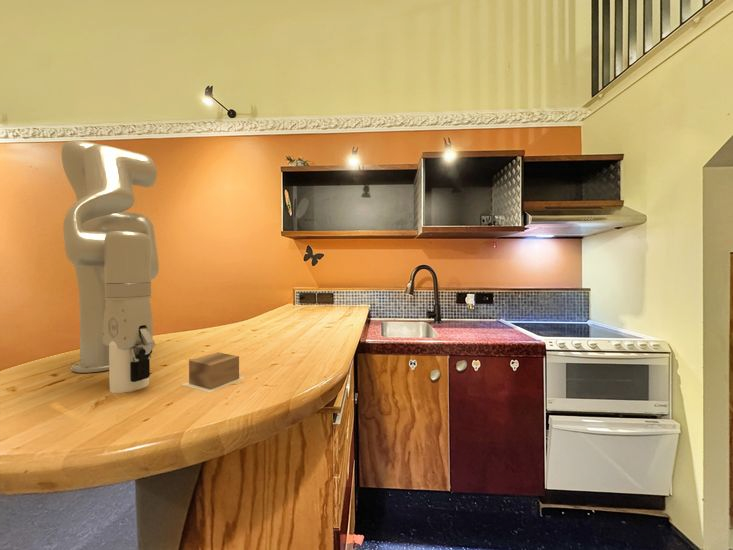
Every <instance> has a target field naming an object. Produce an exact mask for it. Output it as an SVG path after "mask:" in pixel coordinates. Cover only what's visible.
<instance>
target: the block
mask: <svg viewBox="0 0 733 550" xmlns="http://www.w3.org/2000/svg"><path fill="white" fill-rule="evenodd" d="M239 376H240V356H238V355H234V354H230V353H223V352H215V353H211V354H208V355H203V356H200V357H196V358H193V359H189V360H188V382H189V384H192V385H196V386H199V387H203V388H207V389H210V390H211V389H214V388H216V387H219V386H221V385H224V384H226V383H229V382H231V381H234V380H236V379H239Z"/></svg>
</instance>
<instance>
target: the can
mask: <svg viewBox="0 0 733 550" xmlns="http://www.w3.org/2000/svg"><path fill="white" fill-rule="evenodd" d="M113 338H114V337H113ZM141 344H143V342H137V343H135V345H134V346H136V345H141ZM142 349H143V348H142ZM140 350H141V349H137V354H138V353H139V351H140ZM130 362H133V359H132V356H131V352H130V348H129V349H128V350H122V349H119V348H117V344H116V343H115V342H114V341H111V342H110V344H109V370H108V371H109V372H108V373H109V374H108V375H109V378H108V379H109V392H110V393H113V394H123V393H129V392H134V391H138V390H141V389H143V388H145V387H147V386H149V385H150V377H149V378H146V379H143V380H139V381H136V382H131V374H130Z"/></svg>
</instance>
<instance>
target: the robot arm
mask: <svg viewBox="0 0 733 550" xmlns="http://www.w3.org/2000/svg"><path fill="white" fill-rule="evenodd" d="M60 153H61V162H62V167H63V171H64V173H65V176H66V178H67V181H68V182H69V184H70V186H71V188H72V190H73V191H74V194H75V196H76V197H75V198H76V202H75V203H74V204H72V206H71V207H70V208H69V209H68V210H67V212H66V214H65V216H64V219H63V226H62V227H63V241H64V242H63V243H64V251H65V255H66V258H67V260H68V261H69V262H70V263H71V264H72V265H74V267H73V268H74V271H75V275H76V280H77V286H78V287H77V288H78V299H79V300H78V301H79V302H78V304H79V305H78V307H79V346H80V347H79V361H78V362H74V363H73V364H72V365H71V371H72V372H74V373H79V374H80V373H81V374H83V373H85V374H87V373H98V372H105V371H109V344H110V342H111V341H114V342H115V343H116V344H117V348H119V349H122V350H128V349H129V348H130V352H131V356H132V359H133V362H130V374H131V382H136V381H139V380H143V379H146V378H149V379H150V376H151V375H150V374H151V373H150V369H151V368H150V367H151V365H150V364H151V363H150V362H151V361H150V359H151V358H152V353H153V349H154V348H155V345H156V342H155V340H154V339H153V336H154V335H153V334H154V332H153V331H154V330H153V329H154V328H153V327H154V326H153V325H154V324H153V315H152V314H153V313H152V304H151V298H152V280H153V279H155V278H156V277H157V276H158V273H159V269H160V268H159V264H160V263H159V262H160V261H159V255H158V248H157V243H156V242H157V241H156V235H155V230H154V225H153V222H152V221H151V219H150V218H149V217H148V216H147V215H144V214H142V213H135V212H131V211H130V212H129V211H127V210H129V209H131V208H132V207H133V206H134V204H135V196H134V189H133V186H137V187H144V188H151V187H154V185H155V184H156V182H157V177H158V176H157V175H158V173H157V168H156V167H157V166H156V165H155V162H154V161H153V159H152V157H150V156H148V155H146V154H143V153H141V152H135V151H131V150H127V149H123V148H119V147H114V146H110V145H107V144H106V145H105V144H100V143H96V142H91V141H85V140H70V141H69V140H68V141H66V142H64V144H63V145H62V147H61V151H60ZM113 337H114V338H113ZM137 342H143V344H141V345H136V346H134V345H135V343H137ZM142 348H143V349H142ZM137 349H141V350H140V351H139V353H138V354H137Z"/></svg>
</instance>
